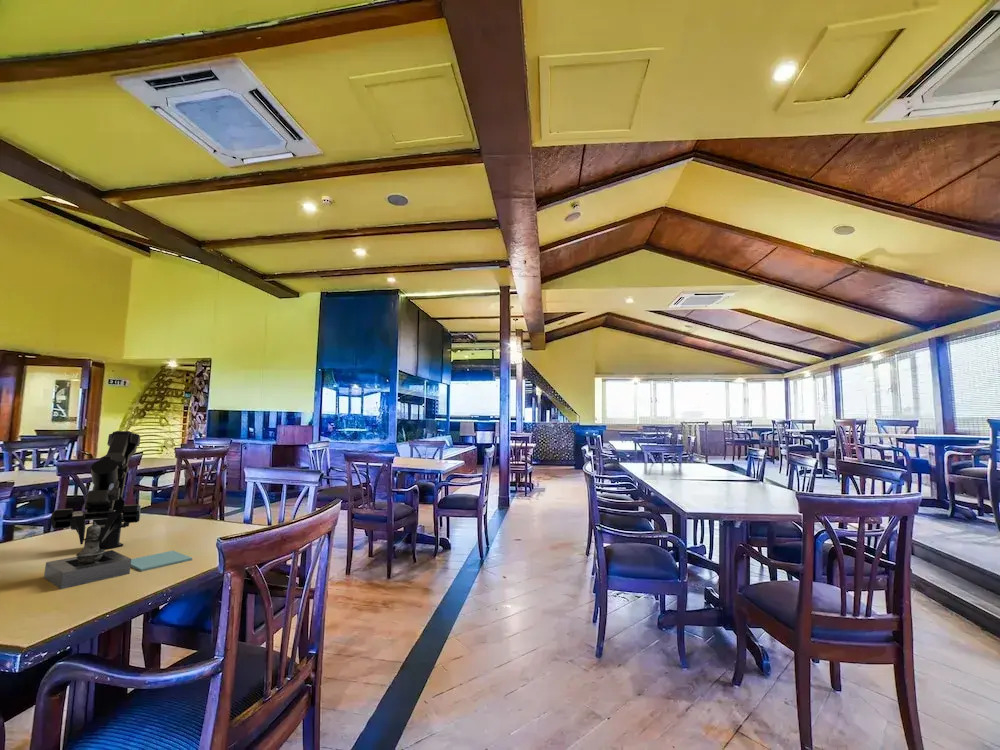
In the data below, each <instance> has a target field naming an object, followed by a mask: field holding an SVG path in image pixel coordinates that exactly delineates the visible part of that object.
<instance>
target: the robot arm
mask: <svg viewBox="0 0 1000 750" xmlns="http://www.w3.org/2000/svg"><path fill="white" fill-rule="evenodd" d="M140 443H141V436H140V434H137V433H134V432H133V431H130V430H116V431H112V433H109V434H108V438H107V443H106V444H107V445H106V446H108V450H107V451H106V454H105V455H102V456H101V457H100V458H99V459H98V460H97V461H95V462H94V463H92V464H91V466H90V467H91V468H90V475H91V482H92V484H93V486H92V489H91V490H88V491H87V494H86V495H87V496H86V500H85V506H84V510H85V511H83V510H82V511H80V510H79V511H74V508H61V509H60V508H59V509H55V510H54V511H53V512H52V513H51V515H50V521H51V522H50V523H51V528H52V529H54V530H60V529H62V530H63V529H68V528H70V530H75V531H76V533H77V535H78V538H79V544H80V545H83V544H84V543H85V541H84V539H85V536H86V534H85V533H86V529H87V528H86V521H92V524H93V523H94V522H96V524H97V525H99V526H100V527H101V530H100V537H101V538H100V540H99V548H100V549H101V550H106V549H112V548H118V547H123V546H124V543H122V542H120V540H121V532H122V528H125V529H126V528H127V527H130V524H132V523H135V524H136V523H139V522H140V519H141V508H142V507H141V505H140V504H137V503H136V504H126V502H125V500H124V499H123V495H124V491H125V483H126V478H127V473H128V472H129V470H130V467H129V461H130V458H132V457H133V456H134V454H136V452H137V448H138V447H140Z"/></svg>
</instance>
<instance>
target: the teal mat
mask: <svg viewBox="0 0 1000 750" xmlns="http://www.w3.org/2000/svg"><path fill="white" fill-rule="evenodd" d="M192 560H193V557H191V556H189V555H186V554H184V553H180V552H178V551H175V550H170V551H164V552H159V553H155V554H149V555H145V556H140V557H135V558H134V557H133V558H131V566H130V568H133V569H135V570H137V571H140V572H145V571H149V570H154V569H158V568H159V569H160V568H163V567H167V566H171V565H177V564H181V563H185V562H189V561H192Z"/></svg>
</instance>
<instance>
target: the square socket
mask: <svg viewBox="0 0 1000 750" xmlns="http://www.w3.org/2000/svg"><path fill="white" fill-rule="evenodd" d="M131 559H132V558H130V557H128V556H127V555H123V554H121V553H119V552H117V551H114V550H113V549H112V550H105V552H104V553H103V556H102V557H101V558H100V559H99V560H98V561H96V562H99V563H94V564H89V565H84V566H79V567H77V566H78V565H80V564H83V563H80V562H79V561H78V559H77V556H72V557H67V558H62V559H56V560H51V561H47V562H45V568H44V573H43V574H44V575H43V578H44V579H45V580H47V581H48V582H50V583H51V584H52V585H54V586H56V587H57V588H59V589H60V590H64V589H68V588H72V587H77V586H80V585H81V586H82V585H85V584H89V583H90V584H91V583H93V582H98V581H103V580H108V579H111V578H116V577H121V576H125V575H130V573H131Z"/></svg>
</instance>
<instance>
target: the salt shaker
mask: <svg viewBox="0 0 1000 750" xmlns="http://www.w3.org/2000/svg"><path fill="white" fill-rule="evenodd" d="M100 530H101V527H100V526H99V525H97V524H96V522H94V523H93V522H92V524H91V525H89V526H88V527H87V528H86V531H85V533H86V534H85V537H84V543H83V544H84V545H83V548H82V551H80V552H77V553H76V554H75V557H77V559H78V561H79V562H80V563H83V564H80V565H78V566H77V567H79V566H84V565H89V564H94V563H99V562H96V561H98V560H99V559H100V558H101V557H102V556H103V553H104V552H105V551H106V549H102V550H101V549H100V548H99V540H100V538H101V537H100Z"/></svg>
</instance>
